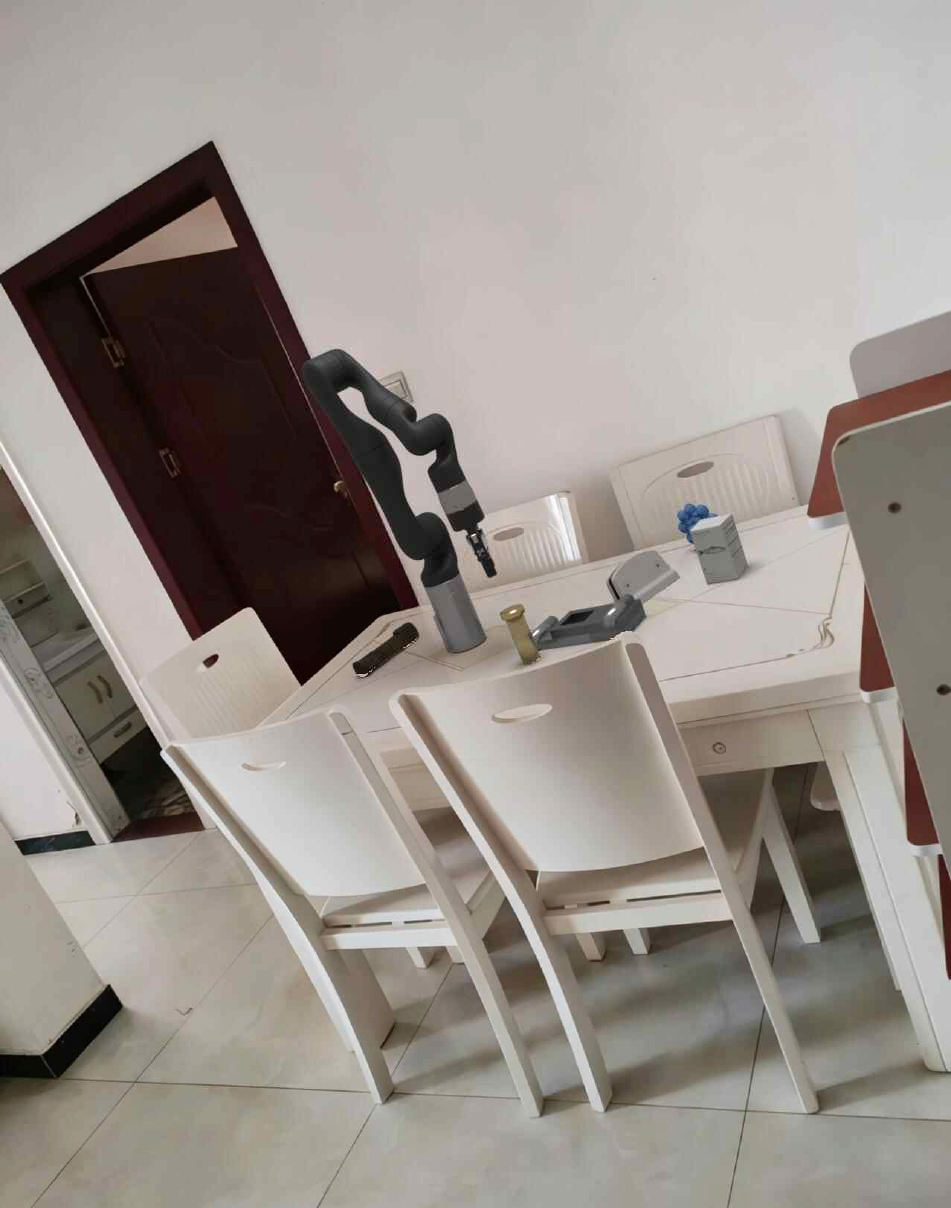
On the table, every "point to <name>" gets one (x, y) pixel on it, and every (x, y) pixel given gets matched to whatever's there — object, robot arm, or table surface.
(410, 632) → the hand tool
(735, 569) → the supplement box
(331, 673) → the table surface
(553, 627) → the gray socket base
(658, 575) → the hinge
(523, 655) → the brass pin
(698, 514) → the grapes
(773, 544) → the table surface
